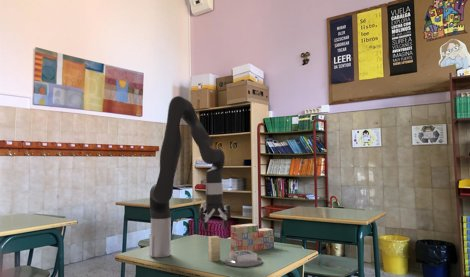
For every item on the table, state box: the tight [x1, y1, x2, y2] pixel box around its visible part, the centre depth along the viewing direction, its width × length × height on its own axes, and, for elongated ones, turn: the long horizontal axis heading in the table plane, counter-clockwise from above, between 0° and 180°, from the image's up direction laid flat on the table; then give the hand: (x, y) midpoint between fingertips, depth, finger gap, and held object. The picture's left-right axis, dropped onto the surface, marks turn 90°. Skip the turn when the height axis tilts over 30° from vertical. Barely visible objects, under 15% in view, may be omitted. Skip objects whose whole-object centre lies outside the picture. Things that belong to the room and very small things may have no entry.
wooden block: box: [207, 235, 221, 262], centre depth 162 cm, size 4×4×10 cm
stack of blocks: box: [230, 223, 275, 252], centre depth 183 cm, size 21×6×12 cm, turn 118°
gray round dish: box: [223, 250, 263, 268], centre depth 158 cm, size 16×16×4 cm
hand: (215, 229), depth 164 cm, fingers open, 8 cm apart
